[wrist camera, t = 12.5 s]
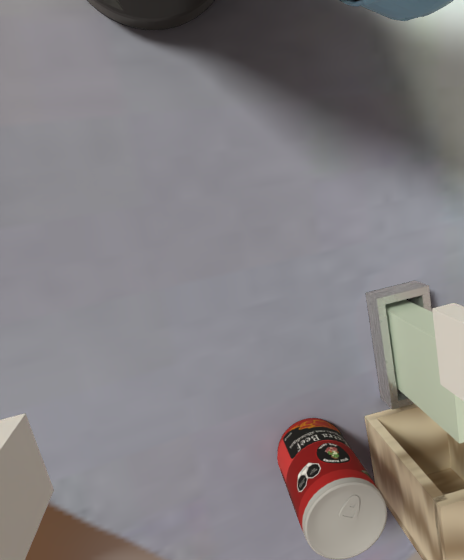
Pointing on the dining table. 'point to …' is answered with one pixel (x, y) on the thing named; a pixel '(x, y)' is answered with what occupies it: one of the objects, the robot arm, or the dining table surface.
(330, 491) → the canned food
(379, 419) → the open wooden box
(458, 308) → the robot arm
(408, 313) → the pale green rectangular block
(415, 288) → the grey rectangular frame
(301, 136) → the dining table surface
